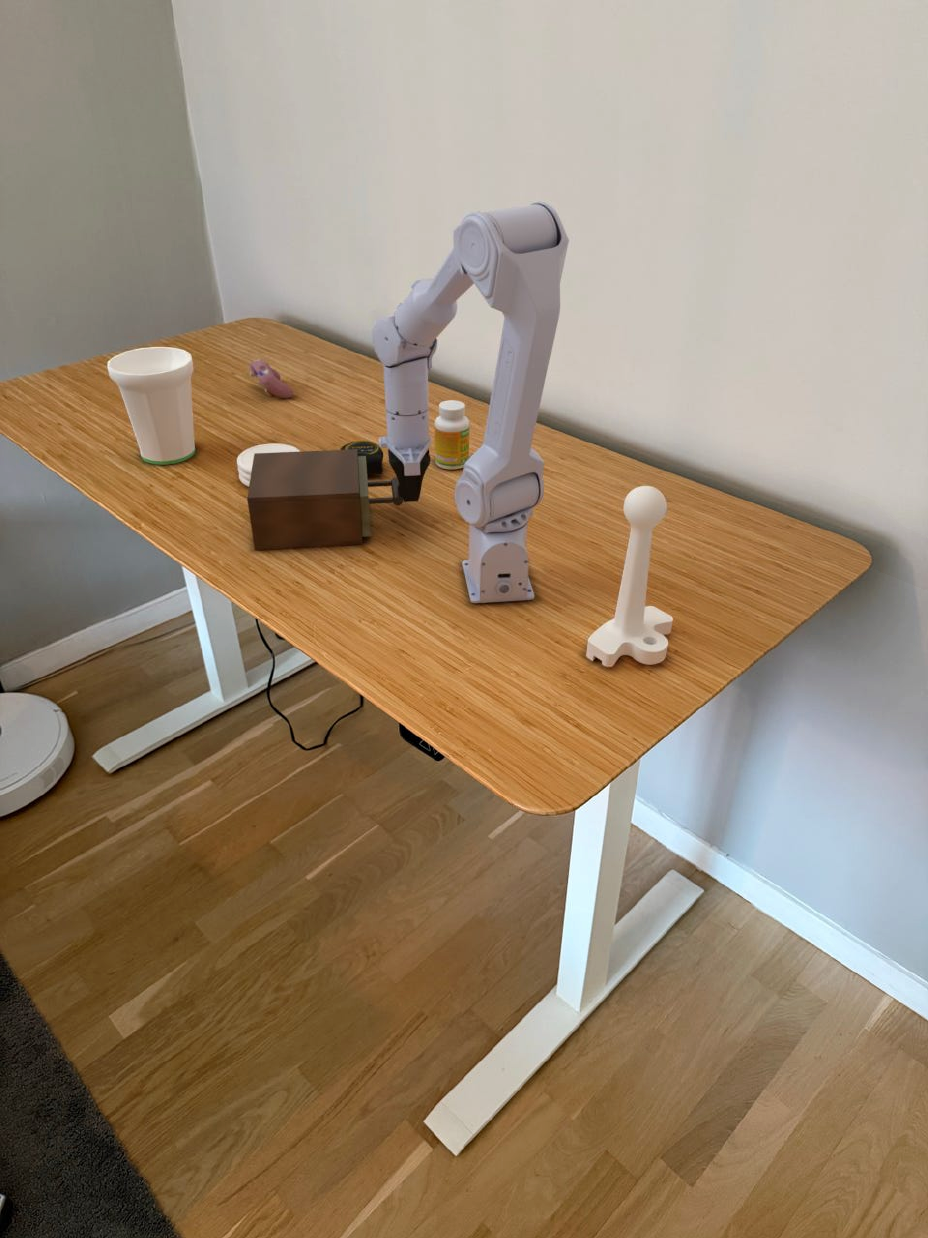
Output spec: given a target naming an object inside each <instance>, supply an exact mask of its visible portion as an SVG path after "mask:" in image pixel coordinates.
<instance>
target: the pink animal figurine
mask: <svg viewBox="0 0 928 1238" xmlns="http://www.w3.org/2000/svg"><path fill="white" fill-rule="evenodd" d="M248 366H249V369H250V371H249V375H250V376H251V377H252V378H254V377H256V378H257V379H258V381H259V384H260V385H261V386H262V388H264V390H263V391H264V392H265V393H266V394H269V396H270V397H271V396H272V395H274V396H277V397H279V398H282V399H291V398H292V397H293V394H294V392H293V389H292V388H291V387H290V386H289V385H288V384H286V383H284V382H283V381H281V374H280V373H279V371H277V370H276V369H275V368H273V367H271V365H270V364H269V363H268V362H266V361H264V360H260V358H258V359H257V360H256V359H255V360H253V361H252V362H251V363H249V364H248Z"/></svg>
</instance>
